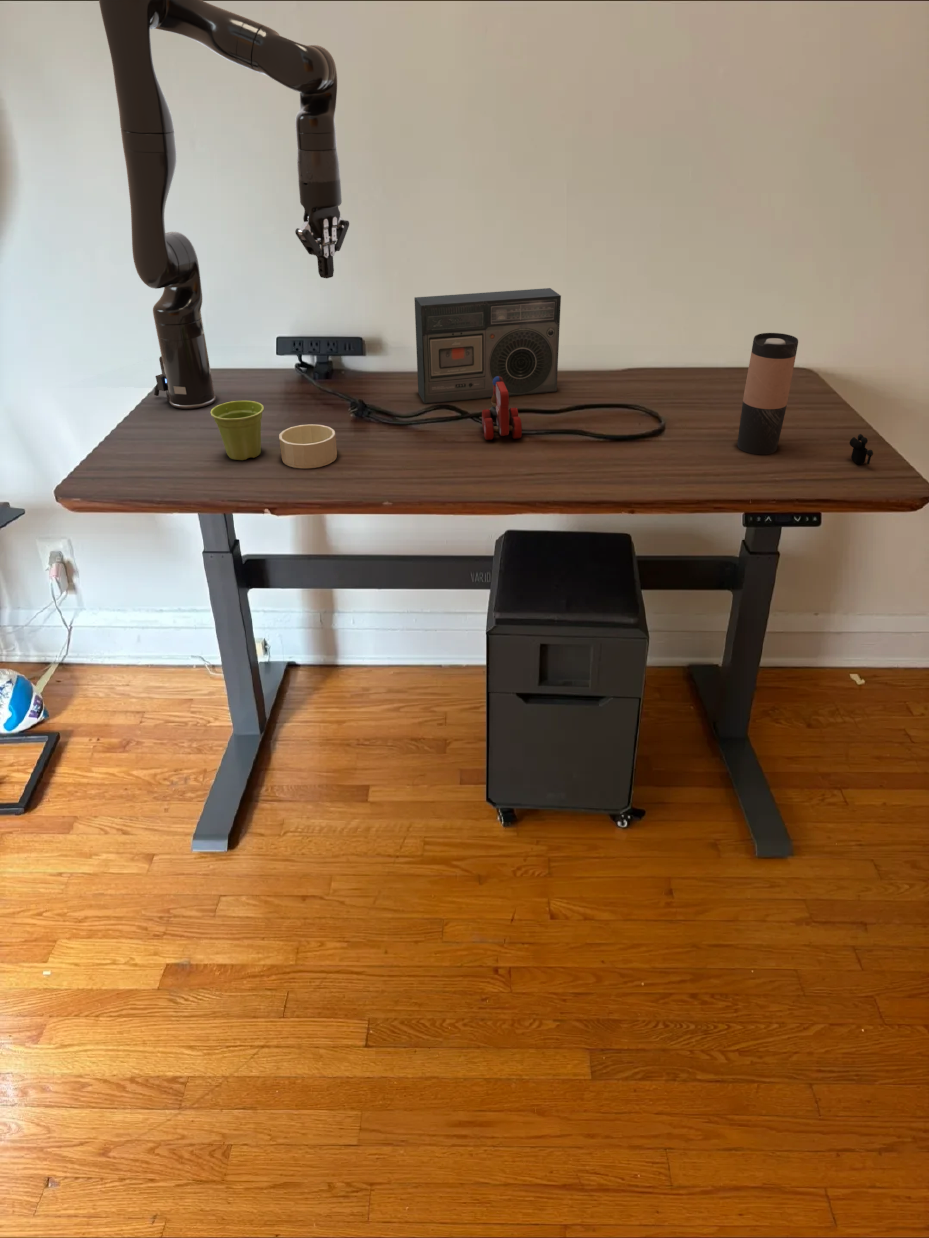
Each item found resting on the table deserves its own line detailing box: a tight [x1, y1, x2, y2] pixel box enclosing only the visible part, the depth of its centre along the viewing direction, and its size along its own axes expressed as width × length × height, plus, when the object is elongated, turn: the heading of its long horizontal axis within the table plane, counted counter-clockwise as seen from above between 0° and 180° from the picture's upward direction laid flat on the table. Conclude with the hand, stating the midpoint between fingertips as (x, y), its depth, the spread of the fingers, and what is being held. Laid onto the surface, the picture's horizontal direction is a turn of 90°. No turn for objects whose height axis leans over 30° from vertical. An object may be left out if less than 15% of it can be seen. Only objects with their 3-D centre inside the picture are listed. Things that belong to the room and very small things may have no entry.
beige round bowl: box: [278, 423, 338, 470], centre depth 163 cm, size 10×10×4 cm
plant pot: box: [209, 400, 265, 461], centre depth 164 cm, size 9×9×9 cm
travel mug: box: [736, 332, 799, 455], centre depth 161 cm, size 8×8×20 cm
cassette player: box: [414, 287, 562, 405], centre depth 188 cm, size 29×7×20 cm, turn 104°
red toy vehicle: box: [481, 376, 523, 441], centre depth 171 cm, size 7×12×10 cm, turn 4°
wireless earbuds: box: [849, 433, 874, 466], centre depth 158 cm, size 7×2×5 cm, turn 8°
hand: (326, 277), depth 171 cm, fingers closed
